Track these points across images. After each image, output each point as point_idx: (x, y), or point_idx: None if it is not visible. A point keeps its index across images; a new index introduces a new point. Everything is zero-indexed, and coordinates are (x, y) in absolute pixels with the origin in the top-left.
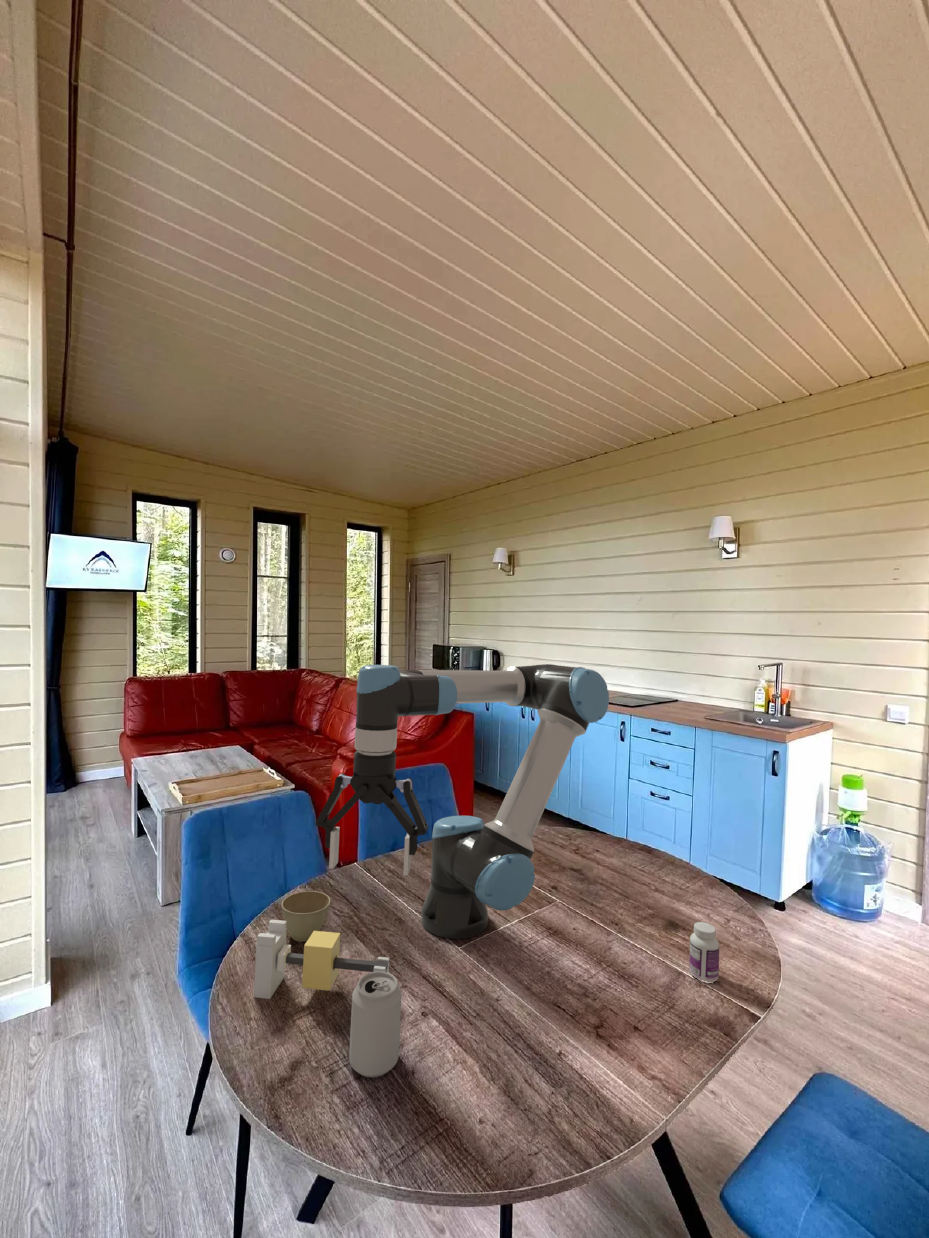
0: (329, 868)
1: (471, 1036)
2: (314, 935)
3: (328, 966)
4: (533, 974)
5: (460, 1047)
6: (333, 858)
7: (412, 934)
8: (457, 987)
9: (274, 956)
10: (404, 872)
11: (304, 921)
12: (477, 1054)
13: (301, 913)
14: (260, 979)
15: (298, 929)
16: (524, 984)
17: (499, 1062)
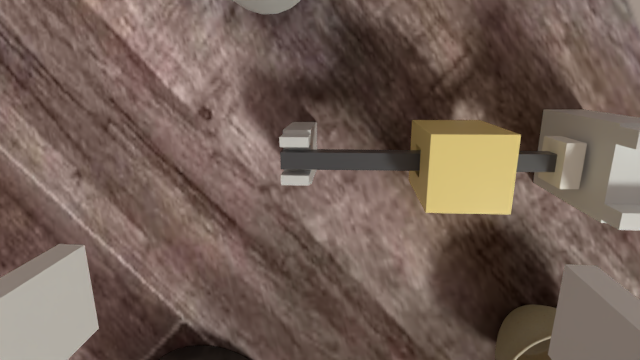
0: (592, 265)
1: (103, 65)
2: (502, 190)
3: (428, 127)
4: (28, 255)
5: (117, 32)
6: (612, 306)
7: (288, 352)
8: (160, 199)
9: (593, 135)
10: (66, 252)
11: (548, 321)
12: (82, 19)
13: None
14: (593, 113)
15: (552, 310)
16: (38, 224)
17: (40, 5)
